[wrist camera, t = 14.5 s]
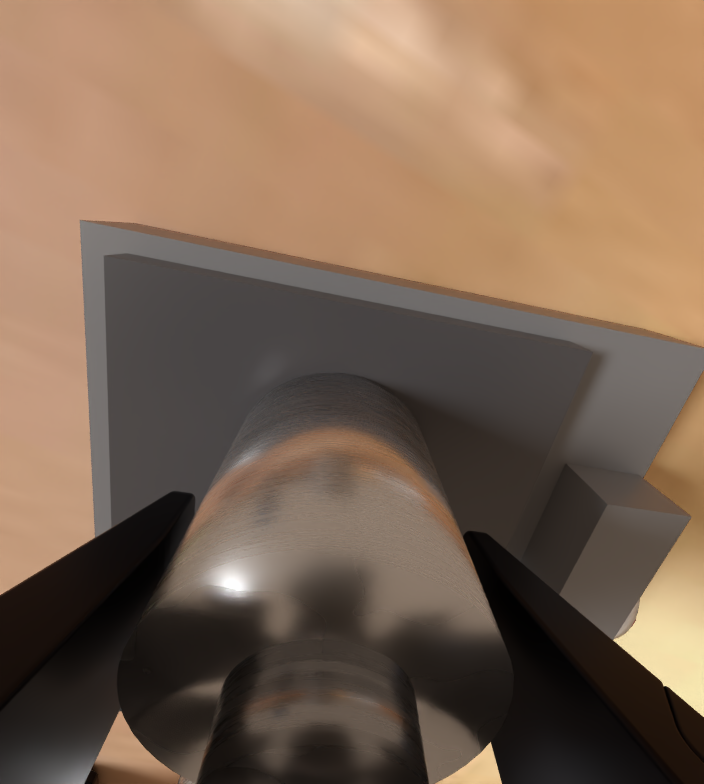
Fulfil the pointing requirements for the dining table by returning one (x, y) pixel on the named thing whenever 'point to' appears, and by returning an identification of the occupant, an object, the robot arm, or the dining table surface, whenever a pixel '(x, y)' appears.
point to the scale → (405, 380)
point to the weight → (319, 609)
